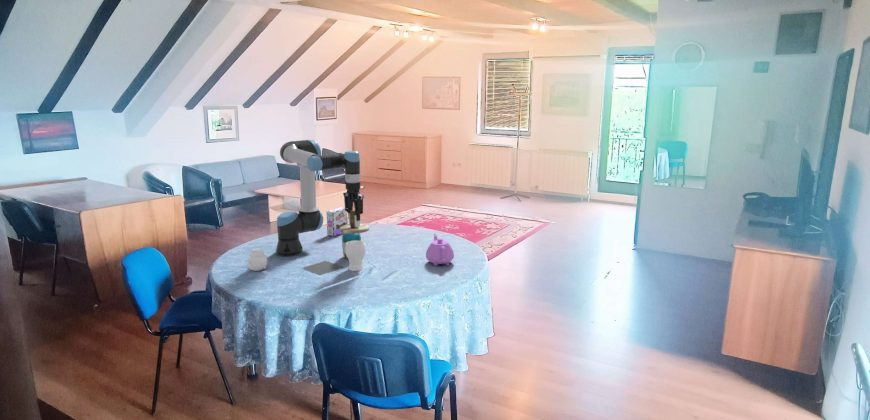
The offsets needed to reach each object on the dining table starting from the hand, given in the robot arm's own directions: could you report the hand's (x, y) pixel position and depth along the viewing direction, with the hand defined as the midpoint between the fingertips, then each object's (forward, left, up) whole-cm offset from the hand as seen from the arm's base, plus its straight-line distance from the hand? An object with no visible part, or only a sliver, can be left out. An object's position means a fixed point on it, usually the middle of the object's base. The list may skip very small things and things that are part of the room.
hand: (354, 225), depth 278 cm
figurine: (-39, -34, -25) cm, 57 cm away
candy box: (-62, +38, -25) cm, 77 cm away
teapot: (+25, +39, -25) cm, 52 cm away
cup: (0, 0, -25) cm, 25 cm away
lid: (0, 0, -2) cm, 2 cm away
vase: (-16, +11, -25) cm, 31 cm away
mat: (-14, -11, -24) cm, 30 cm away
